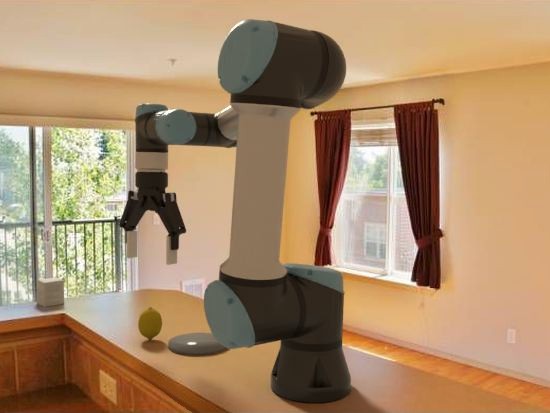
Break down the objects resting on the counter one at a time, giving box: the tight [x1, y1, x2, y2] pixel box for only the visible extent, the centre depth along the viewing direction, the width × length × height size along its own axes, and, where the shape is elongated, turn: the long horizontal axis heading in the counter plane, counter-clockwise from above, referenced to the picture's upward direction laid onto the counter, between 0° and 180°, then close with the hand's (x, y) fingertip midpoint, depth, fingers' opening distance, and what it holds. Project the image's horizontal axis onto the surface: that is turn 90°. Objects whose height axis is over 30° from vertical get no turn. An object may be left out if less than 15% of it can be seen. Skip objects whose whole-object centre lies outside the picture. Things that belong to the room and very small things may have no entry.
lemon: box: [137, 306, 163, 341], centre depth 134 cm, size 6×6×8 cm
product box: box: [36, 277, 65, 308], centre depth 168 cm, size 6×6×7 cm
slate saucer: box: [167, 332, 228, 356], centre depth 130 cm, size 14×14×1 cm
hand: (151, 260), depth 133 cm, fingers open, 13 cm apart
